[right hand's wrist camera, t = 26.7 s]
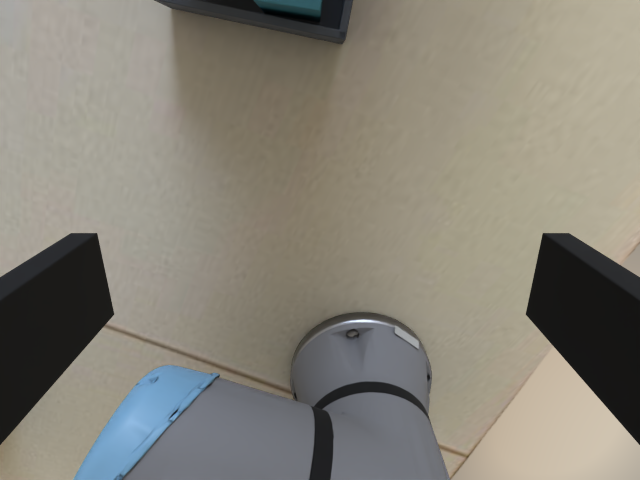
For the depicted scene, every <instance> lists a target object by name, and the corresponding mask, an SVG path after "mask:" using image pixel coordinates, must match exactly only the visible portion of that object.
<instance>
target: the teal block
mask: <svg viewBox="0 0 640 480" xmlns="http://www.w3.org/2000/svg"><path fill="white" fill-rule="evenodd" d="M254 2H255V3H256V4H257V5H258V6H259V7H260V9H261V10H262V11H263V12H264V13H265V14H271V15H278V16H284V17H290V18H297V19H303V20H310V21H316V22H320V18H321V10H322V2H323V0H254Z"/></svg>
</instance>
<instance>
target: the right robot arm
mask: <svg viewBox="0 0 640 480" xmlns="http://www.w3.org/2000/svg"><path fill="white" fill-rule="evenodd" d="M113 315H114V311H113V307H112V302H111V297H110V292H109V288H108V283H107V278H106V273H105V269H104V264H103V259H102V254H101V250H100V245H99V240H98V235H97V233H71V234H69V235H68V236H66V237H64V238H63V239H61V240H59V241H58V242H56V243H55V244H53V245H51V246H50V247H48V248H47V249H45V250H43V251H42V252H40V253H39V254H37V255H35V256H34V257H32V258H31V259H29V260H27V261H26V262H24V263H23V264H21V265H19V266H18V267H16V268H15V269H13V270H11V271H10V272H8V273H6V274H5V275H3V276H2V277H0V445H1V443H2V442H3V441H4V440H5V439H6V438H7V437H8V435H9V434H10V433H11V432H12V431H13V430H14V429H15V427H16V426H17V425H18V424H19V423H20V422H21V421H22V419H23V418H24V417H25V416H26V415H27V414H28V413H29V411H30V410H31V409H32V408H33V407H34V406H35V404H36V403H37V402H38V401H39V400H40V399H41V398H42V396H43V395H44V394H45V393H46V392H47V391H48V390H49V388H50V387H51V386H52V385H53V384H54V383H55V382H56V380H57V379H58V378H59V377H60V376H61V375H62V374H63V372H64V371H65V370H66V369H67V368H68V367H69V366H70V364H71V363H72V362H73V361H74V360H75V359H76V357H77V356H78V355H79V354H80V353H81V352H82V351H83V349H84V348H85V347H86V346H87V345H88V344H89V343H90V341H91V340H92V339H93V338H94V337H95V336H96V335H97V333H98V332H99V331H100V330H101V329H102V328H103V327H104V325H105V324H106V323H107V322H108V321H109V320H110V319H111V317H112V316H113ZM526 315H527V316H528V317H529V319H530V320H531V321H532V322H533V323H534V324H535V325H536V327H537V328H538V329H539V330H540V331H541V332H542V333H543V335H544V336H545V337H546V338H547V339H548V340H549V341H550V343H551V344H552V345H553V346H554V347H555V348H556V349H557V351H558V352H559V353H560V354H561V355H562V356H563V357H564V359H565V360H566V361H567V362H568V363H569V364H570V366H571V367H572V368H573V369H574V370H575V371H576V372H577V374H578V375H579V376H580V377H581V378H582V379H583V380H584V382H585V383H586V384H587V385H588V386H589V387H590V388H591V390H592V391H593V392H594V393H595V394H596V395H597V396H598V398H599V399H600V400H601V401H602V402H603V403H604V404H605V406H606V407H607V408H608V409H609V410H610V411H611V413H612V414H613V415H614V416H615V417H616V418H617V419H618V421H619V422H620V423H621V424H622V425H623V426H624V427H625V429H626V430H627V431H628V432H629V433H630V434H631V435H632V437H633V438H634V439H635V440H636V441H637V442H638V443H639V445H640V277H638V276H637V275H635V274H633V273H632V272H630V271H629V270H627V269H625V268H624V267H622V266H621V265H619V264H617V263H616V262H614V261H613V260H611V259H609V258H608V257H606V256H605V255H603V254H601V253H600V252H598V251H597V250H595V249H593V248H592V247H590V246H589V245H587V244H585V243H584V242H582V241H581V240H579V239H577V238H576V237H574V236H572V235H571V234H569V233H543V235H542V240H541V245H540V250H539V254H538V259H537V264H536V269H535V273H534V278H533V283H532V288H531V292H530V297H529V302H528V307H527V311H526ZM219 376H220V374H217V373H212V374H207V373H203V372H199V371H195V370H191V369H187V368H183V367H179V366H174V365H166V366H161V367H159V368H156V369H154V370H152V371H151V372H149V373H148V374H147V375H145V376H144V377H143V378H142V379H141V380H140V381H139V382H138V383H137V384H136V385H135V387H134V388H133V389H132V390H131V391H130V393H129V394H128V395H127V396H126V398H125V399H124V400H123V402H122V403H121V404H120V406H119V407H118V408H117V410H116V411H115V413H114V414H113V416H112V417H111V418H110V420H109V421H108V423H107V424H106V426H105V427H104V429H103V430H102V432H101V434H100V435H99V437H98V438H97V440H96V441H95V443H94V445H93V446H92V448H91V450H90V451H89V453H88V455H87V456H86V458H85V460H84V461H83V463H82V465H81V467H80V468H79V470H78V472H77V474H76V476H75V477H74V479H73V480H450V478H449V475H448V472H447V469H446V466H445V463H444V460H443V458H442V455H441V452H440V449H439V446H438V443H437V440H436V437H435V434H434V431H433V428H432V426H431V422H430V419H429V416H428V411H429V393H430V389H431V381H432V372H431V366H430V363H429V360H428V357H427V354H426V352H425V349H424V347H423V345H422V343H421V341H420V340H419V339H418V337H417V336H416V335H415V334H414V333H413V332H412V331H411V330H410V329H409V328H408V327H407V326H405V325H404V324H402V323H400V322H399V321H397V320H395V319H392V318H390V317H387V316H384V315H380V314H375V313H364V312H363V313H349V314H344V315H340V316H336V317H334V318H331V319H329V320H327V321H324V322H323V323H321V324H319V325H318V326H316V327H315V328H314V329H312V330H311V331H310V332H309V333H308V334H307V335H306V336H305V337H304V338H303V339H302V341H301V342H300V344H299V345H298V347H297V349H296V351H295V353H294V357H293V360H292V367H291V378H290V383H291V391H292V394H293V398H294V400H295V401H294V400H291V399H288V398H284V397H281V396H278V395H274V394H271V393H268V392H264V391H261V390H258V389H254V388H251V387H248V386H244V385H241V384H238V383H235V382H232V381H228V380H225V379H222V378H219Z"/></svg>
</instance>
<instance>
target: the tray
mask: <svg viewBox="0 0 640 480" xmlns="http://www.w3.org/2000/svg"><path fill="white" fill-rule="evenodd" d="M155 1H157V2H159V3H161V4H163V5H165V6H168V7H170V8H172V9H177V10H182V11H187V12H192V13H196V14H201V15H206V16H211V17H215V18H220V19H225V20H230V21H234V22H239V23H244V24H249V25H253V26H258V27H263V28H268V29H272V30H277V31H282V32H287V33H291V34H296V35H301V36H306V37H310V38H315V39H320V40H325V41H329V42H334V43H339V44H343V42H344V41H345V39H346V34H347V29H348V24H349V18H350V13H351V8H352V3H353V0H323V2H322V10H321V18H320V22H316V21H310V20H303V19H297V18H290V17H284V16H278V15H271V14H265V13H264V12H263V11H262V10H261V9H260V7H259V6H258V5H257V4H256V3H255V2H254V0H155Z"/></svg>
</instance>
